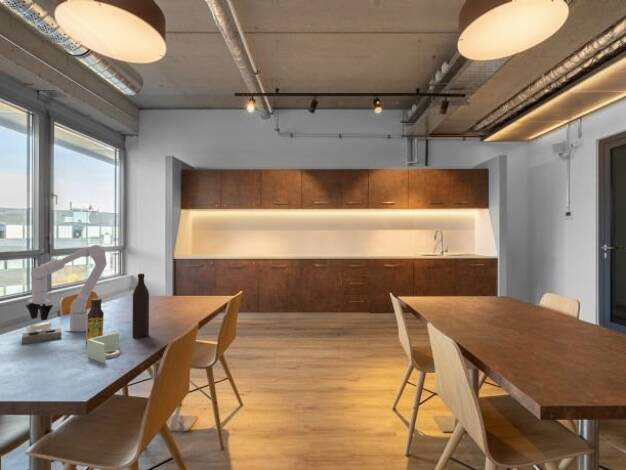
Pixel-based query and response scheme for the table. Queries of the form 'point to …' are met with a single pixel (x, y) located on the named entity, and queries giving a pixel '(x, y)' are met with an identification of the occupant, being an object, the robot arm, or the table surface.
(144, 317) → the wine bottle
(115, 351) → the l-shaped corner panel
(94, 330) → the sauce bottle
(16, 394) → the table surface
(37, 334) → the grey slotted block
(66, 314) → the table surface
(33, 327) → the clip
